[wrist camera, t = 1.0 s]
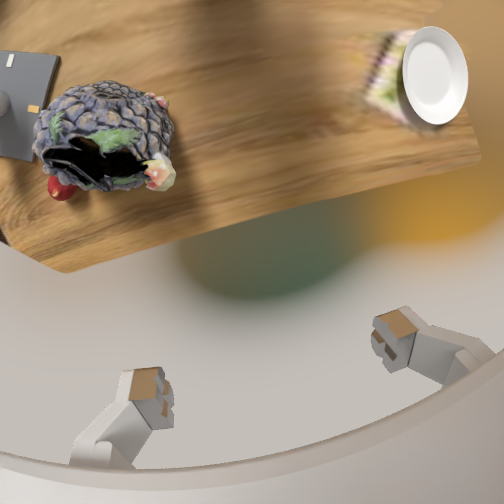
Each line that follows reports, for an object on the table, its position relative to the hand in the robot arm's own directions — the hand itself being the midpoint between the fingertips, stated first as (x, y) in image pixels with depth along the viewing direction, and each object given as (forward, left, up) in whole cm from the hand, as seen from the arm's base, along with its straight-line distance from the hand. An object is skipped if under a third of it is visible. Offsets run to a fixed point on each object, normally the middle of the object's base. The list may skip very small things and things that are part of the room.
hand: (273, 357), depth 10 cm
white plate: (-35, +44, -48) cm, 74 cm away
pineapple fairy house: (+4, -12, -47) cm, 49 cm away
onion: (+17, -19, -47) cm, 54 cm away
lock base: (+5, -37, -47) cm, 60 cm away
